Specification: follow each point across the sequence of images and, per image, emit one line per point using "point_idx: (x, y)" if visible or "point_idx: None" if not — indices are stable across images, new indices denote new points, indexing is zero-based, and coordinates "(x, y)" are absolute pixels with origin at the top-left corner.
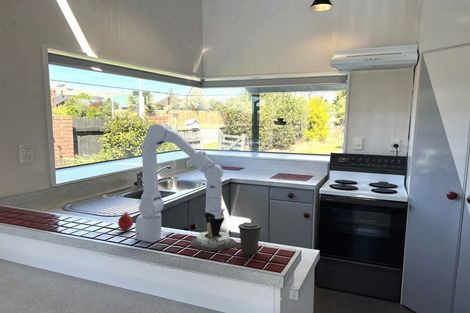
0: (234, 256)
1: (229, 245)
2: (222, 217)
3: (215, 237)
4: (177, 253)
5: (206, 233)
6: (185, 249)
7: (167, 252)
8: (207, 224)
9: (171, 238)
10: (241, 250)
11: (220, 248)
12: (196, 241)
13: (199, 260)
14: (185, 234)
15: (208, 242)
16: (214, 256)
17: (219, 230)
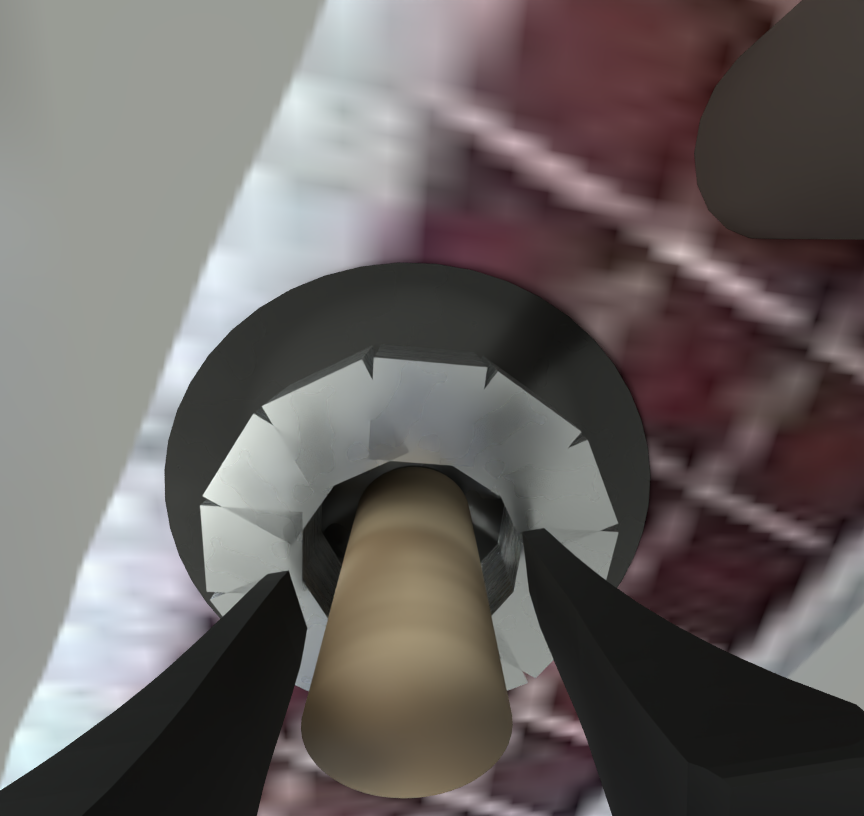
0: (848, 334)
1: (536, 356)
2: (759, 806)
3: (472, 537)
4: None
5: (312, 630)
6: (560, 709)
7: (604, 799)
8: (430, 788)
9: (269, 810)
10: (774, 238)
11: (618, 456)
12: None
13: (831, 615)
14: None
15: None
16: (784, 511)
17: (591, 571)
